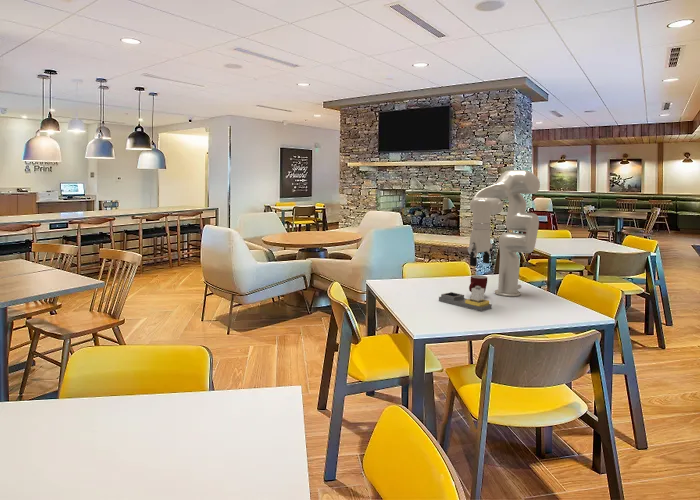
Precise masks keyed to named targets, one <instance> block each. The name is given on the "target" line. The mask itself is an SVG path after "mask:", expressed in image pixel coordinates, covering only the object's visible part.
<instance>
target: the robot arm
mask: <svg viewBox="0 0 700 500" xmlns="http://www.w3.org/2000/svg"><path fill="white" fill-rule="evenodd" d="M540 187H541V184H540V179H539V178H538V177H537V175H535V174H534V173H533V172H531V171H529V170H526V169H522V170H521V169H520V170H519V169H514V170H513V169H508V170H506V171H504V172H503V173H502V174H501V175H500V176H499V178H498V179H497V180H496V181H495V182H494V183H493V184H491V185H489V186H486V187H484V188H482V189H480V190H479V191H477V192H476V194H474V196H473V197H472V199H471V201H470V203H469V208H470V211H471V212H472V228H471V233H470V237H469V245H468V247H467V252H468V255H469V266H470V267H477V265H478V264H477V261H478V258H477V255H478V254H479V253H483V254H482V263H483V264H488V265H489V264H490V258H491V256H490V255H491V252H492V250H493V246H494V245H493V244H492V243H491V215H494V216H495V215H498V214H500V213H501V212H502V210H503V208H504V204H503V201H502V200H504V199H506V198H507V199H508V207H507V212H506V218H505V228H506V229H507V230H509V231H515V232H503V233H502V234H500V235H499V238H498V245H499V246H498V248H499V264H498V265H499V269H498V284H497V285H498V286H497V289H495V290H494V293H495V294H496V295H498V296H502V297H519V296H521V291H519V289H522V285H521V284H519V275H520V274H519V270H520V258H519V256H518V255H517V253H522V254H531V253H532V252H534V250H535V247H536V244H537V243H536V242H537V237H538V233H539V226H540V219H539V216H538V215H537V213H532V212H526V211H527V210H526V209H527V202H526V201H527V200H525V198H524V197H523V195H522V194H524V195H526V194H527V195H533V194H537V192H539V190H540ZM519 232H525V233H519Z"/></svg>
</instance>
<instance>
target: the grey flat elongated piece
mask: <svg viewBox="0 0 700 500" xmlns="http://www.w3.org/2000/svg"><path fill="white" fill-rule="evenodd" d="M438 301H439V302H441V303H445V304H450V305H453V306H458V307H461V308H466V309H469V310H474V311H476V312H477V311H478V312H485V311H488V310H492V307H493V304H492V303H490V300H488V299H484V302H480V303H478V302H474V301H471V298H465V295H464V294H462V293H456V292H452V291H450V292H445V293H441V294H440V296H438Z"/></svg>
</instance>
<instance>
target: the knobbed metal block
mask: <svg viewBox="0 0 700 500" xmlns="http://www.w3.org/2000/svg"><path fill="white" fill-rule="evenodd" d="M470 293H471V294H470V299H471V301H474V302H478V303H480V302H484V300H485V293H484V288H481V286H475V288H472V292H470Z"/></svg>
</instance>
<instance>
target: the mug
mask: <svg viewBox="0 0 700 500" xmlns="http://www.w3.org/2000/svg"><path fill="white" fill-rule="evenodd" d="M487 284H488V277H487V276H485V275H477V274H476V275H471V276H470V284H469V286H468V291H469V292H470V293H472V288H475V286H481V288H484V294H486V293H485V292H486V290H487Z"/></svg>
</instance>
